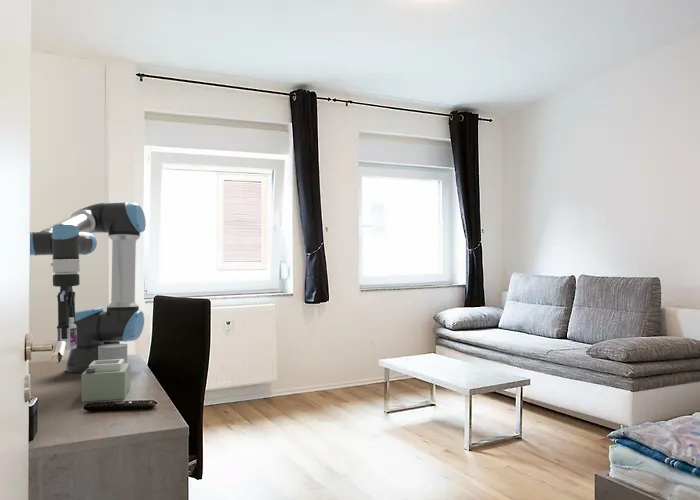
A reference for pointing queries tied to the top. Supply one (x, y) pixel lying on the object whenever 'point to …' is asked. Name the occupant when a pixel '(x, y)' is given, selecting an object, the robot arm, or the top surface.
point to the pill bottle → (71, 334)
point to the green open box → (106, 380)
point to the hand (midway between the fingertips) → (67, 347)
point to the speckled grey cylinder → (113, 352)
